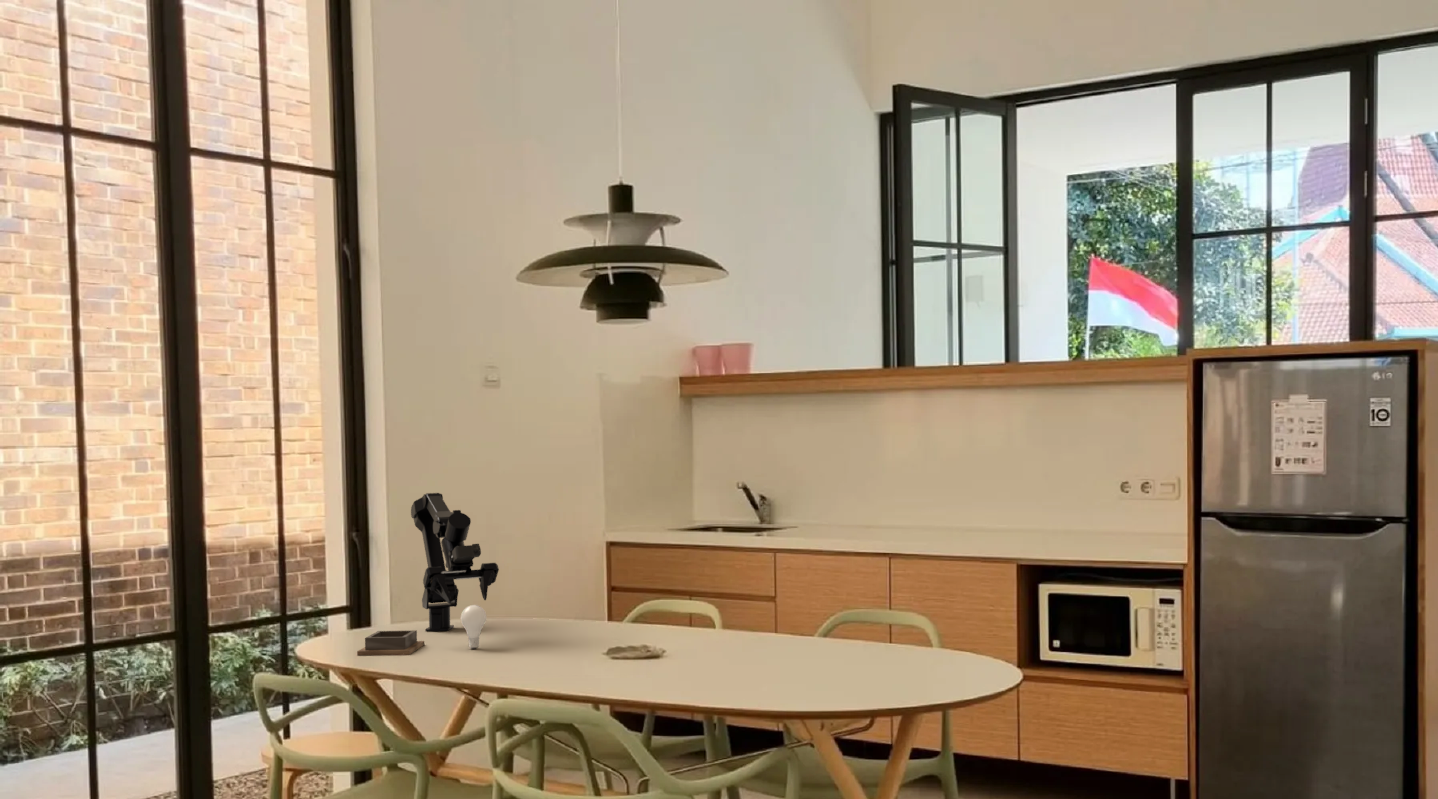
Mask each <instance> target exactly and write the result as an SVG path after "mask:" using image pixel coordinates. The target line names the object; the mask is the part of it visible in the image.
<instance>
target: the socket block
mask: <svg viewBox="0 0 1438 799" xmlns="http://www.w3.org/2000/svg"><path fill="white" fill-rule="evenodd" d="M417 633H418V630H377V631H376V632H374V633H371V634H369V635H368V636H366V637H365V638H364V647H362V648H361V649H359V650H357V652H356V653H357V654H356V656H398V655H399V656H402V655H403V656H404V655H405V656H409V655H412V654H413V653H414V652H416V651H417V650H419V649H421V648H422V647H424V646H425V641H424V640H418V634H417Z"/></svg>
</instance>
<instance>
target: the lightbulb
mask: <svg viewBox="0 0 1438 799" xmlns="http://www.w3.org/2000/svg"><path fill="white" fill-rule="evenodd" d="M460 622H461V625H462V626H463V628H464V629H465V631H466V636H467V637H468V638H467V639H468V648H470V649H471V650H477V648H479V647H480V636H481V632H482V629H483V627H484V626H485V624H486V622H487V612H486V610H485V609H484V608H483V607H482V606H481V605H478V604H471V605H468V606H466V607H464V609H463V610H462V612H461V614H460Z"/></svg>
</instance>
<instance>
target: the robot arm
mask: <svg viewBox="0 0 1438 799" xmlns="http://www.w3.org/2000/svg"><path fill="white" fill-rule="evenodd" d="M461 511H462V510H461V509H455V510H452V511H451V510H450V508H449V507H448V505H447V503H446V502H445V500H444V497H443V494H442V493H440V492H426V493H425V494H423V495H422V497H420V498H418V499H416V500H415V501H413V503H412V505H411V507H410V516H411V518H412V519H413V522H414V525H415V527H416V528H417V529H418V530H419V531H420V532H421V534H422V540H423V545H424V552H425V558H426V563H427V568H426V569H425V572H424V575H423V579H422V581H423V582H422V583H423V588H424V590H423V594H422V598H421V604H422V608H423V609H426V610H428V627H426V628H425V629H424V630H425V632H435V631H436V632H437V631H438V632H439V631H440V632H442V631H444V632H445V631H450V630H451V629H454V628H455V625H454V624H451V607H452V608H453V607H455V608H456V607H457V606H458V597H459V588H458V586H457V584H456V583H455V580H457V581H458V580H470V579H471V580H472V579H478V581H479V588H480V592H481V596H482V598H483V601H487V599H488V598H487V597H488V590H489V587H491V585H492V584H494V583H495V582H496V580H497V576H498V574H499V571H500V569H499V568H500V567H499V565H498V564H497V563H496V562H485V563H484V562H483V563H481V565H480V568H479V569H472V567H474V559H475V558H479V557H480V556H481V554H482V551H481V550H482V549H481V546H480V543H472V544H471V545H465V542H464V541H466V540H467V538H468V534H469V530H470V526H471V523H472V522H471V521H472V520H471V518H470V517H469V515H468V514H465V513H463V512H461ZM441 539H442V540H441ZM444 559H445V560H444Z"/></svg>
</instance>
